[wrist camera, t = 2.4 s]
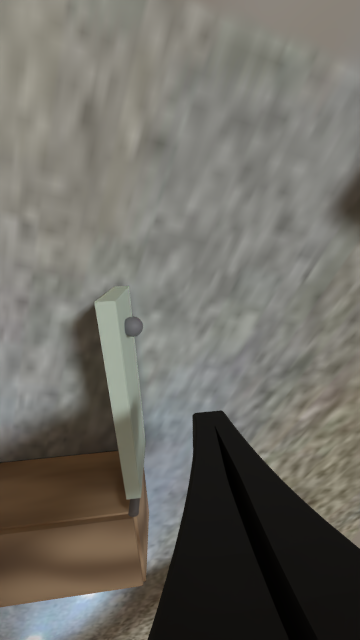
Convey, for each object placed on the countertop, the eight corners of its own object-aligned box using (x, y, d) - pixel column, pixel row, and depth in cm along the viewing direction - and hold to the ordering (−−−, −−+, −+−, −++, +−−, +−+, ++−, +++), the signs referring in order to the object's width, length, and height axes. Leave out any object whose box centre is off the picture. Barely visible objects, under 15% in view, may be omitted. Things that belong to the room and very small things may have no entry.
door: (156, 439, 19) (155, 496, 15) (134, 441, 19) (126, 499, 14) (143, 285, 15) (136, 299, 10) (114, 286, 14) (94, 302, 10)
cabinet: (152, 511, 22) (149, 591, 17) (1, 530, 21) (-52, 622, 16) (144, 438, 19) (138, 509, 14) (-35, 456, 18) (-115, 540, 13)
